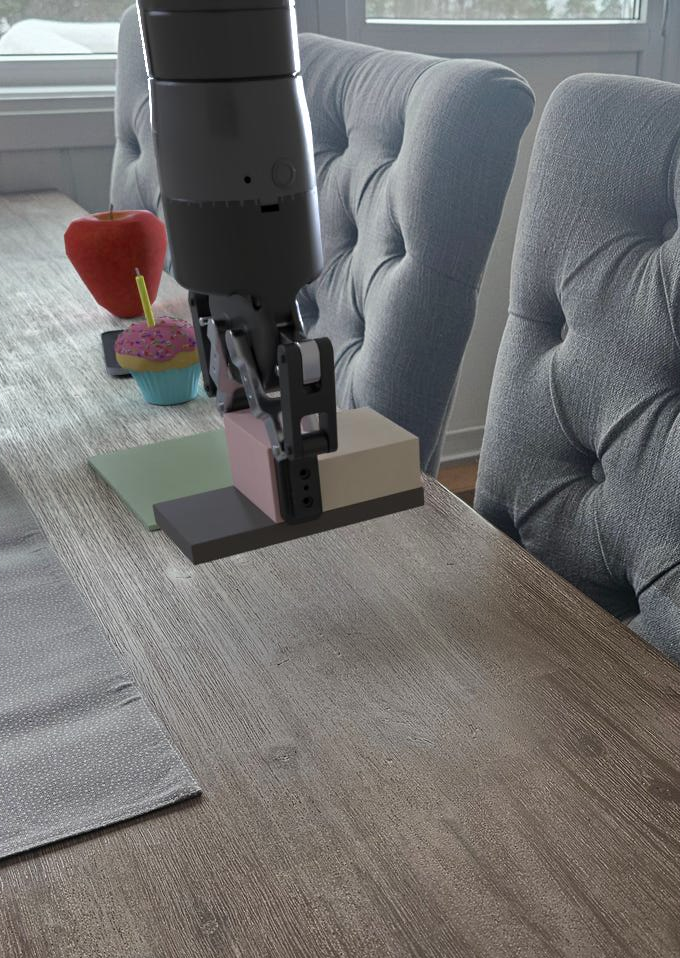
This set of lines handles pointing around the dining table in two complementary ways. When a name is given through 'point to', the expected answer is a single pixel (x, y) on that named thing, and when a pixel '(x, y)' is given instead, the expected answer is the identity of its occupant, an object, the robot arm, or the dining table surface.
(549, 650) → the dining table surface
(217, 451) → the mat
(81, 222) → the apple
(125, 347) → the cupcake
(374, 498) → the blocks on dark base
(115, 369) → the smartphone
